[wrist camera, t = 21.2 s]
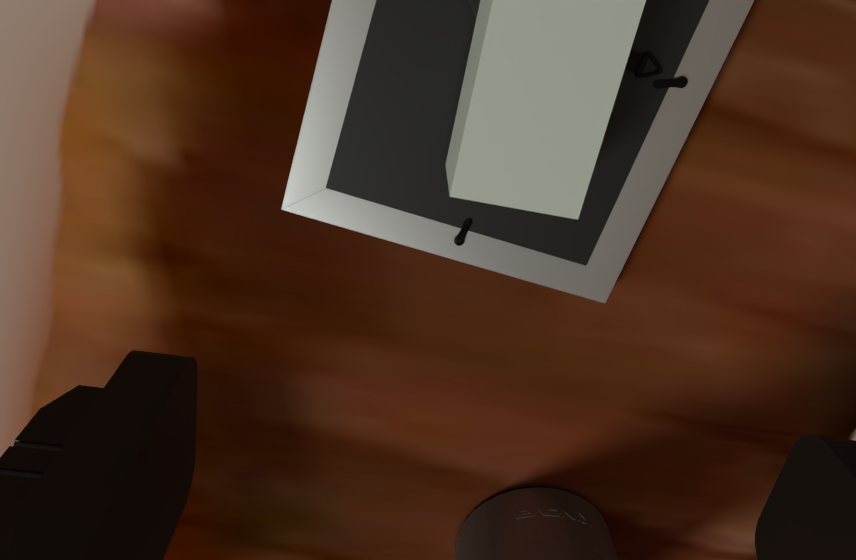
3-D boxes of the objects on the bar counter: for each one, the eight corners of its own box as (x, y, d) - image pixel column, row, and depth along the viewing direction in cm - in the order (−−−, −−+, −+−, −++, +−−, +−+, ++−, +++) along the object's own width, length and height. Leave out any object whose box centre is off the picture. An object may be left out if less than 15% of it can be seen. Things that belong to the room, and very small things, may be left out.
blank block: (558, 185, 30) (577, 219, 27) (445, 164, 30) (449, 196, 26) (632, -68, 26) (667, -69, 22) (501, -98, 25) (515, -103, 22)
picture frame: (422, -350, 24) (288, 194, 33) (422, -384, 22) (277, 215, 30) (818, -183, 26) (595, 284, 35) (861, -196, 24) (609, 311, 33)
